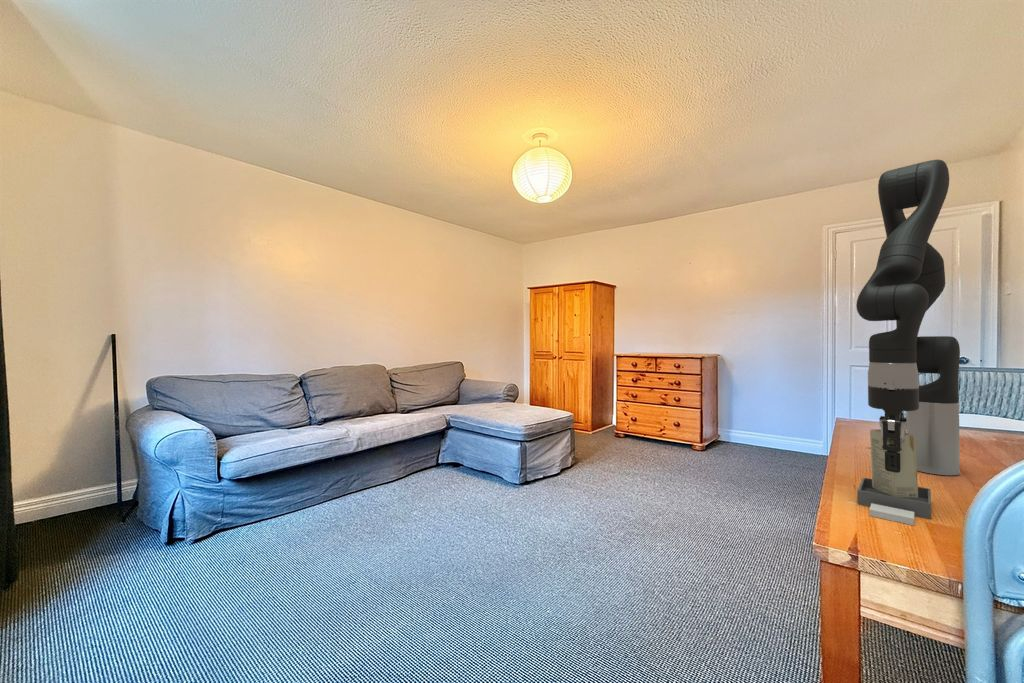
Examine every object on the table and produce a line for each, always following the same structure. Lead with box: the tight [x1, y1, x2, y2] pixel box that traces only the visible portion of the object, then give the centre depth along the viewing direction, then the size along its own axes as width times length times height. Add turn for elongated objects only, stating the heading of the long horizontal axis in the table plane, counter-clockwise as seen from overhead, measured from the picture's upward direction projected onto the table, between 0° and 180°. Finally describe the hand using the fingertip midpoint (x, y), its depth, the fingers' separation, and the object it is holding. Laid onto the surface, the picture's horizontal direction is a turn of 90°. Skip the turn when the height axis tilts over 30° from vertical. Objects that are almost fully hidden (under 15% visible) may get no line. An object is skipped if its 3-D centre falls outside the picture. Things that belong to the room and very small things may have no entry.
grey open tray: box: [857, 477, 932, 526], centre depth 81 cm, size 16×10×3 cm, turn 135°
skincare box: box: [869, 428, 919, 498], centre depth 83 cm, size 6×4×12 cm
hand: (893, 466), depth 83 cm, fingers closed on skincare box, 7 cm apart
